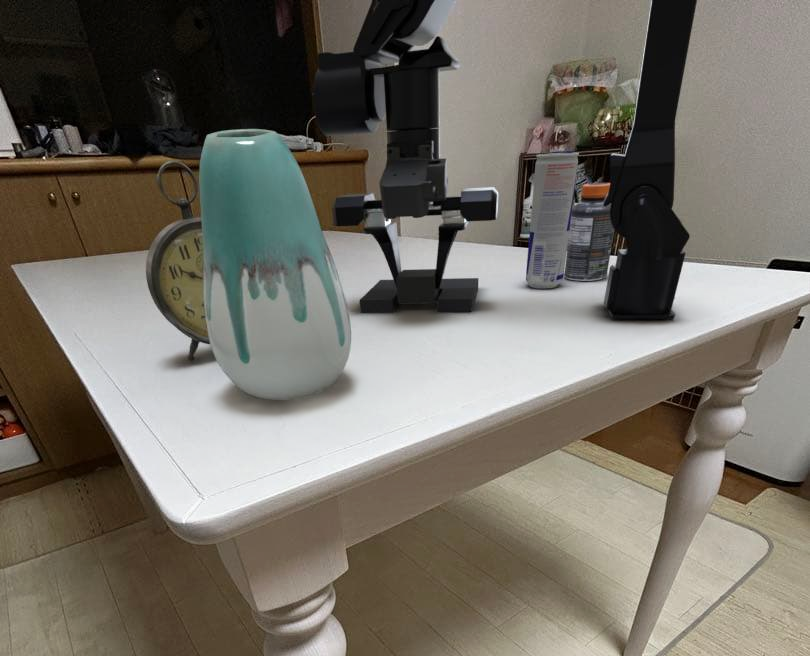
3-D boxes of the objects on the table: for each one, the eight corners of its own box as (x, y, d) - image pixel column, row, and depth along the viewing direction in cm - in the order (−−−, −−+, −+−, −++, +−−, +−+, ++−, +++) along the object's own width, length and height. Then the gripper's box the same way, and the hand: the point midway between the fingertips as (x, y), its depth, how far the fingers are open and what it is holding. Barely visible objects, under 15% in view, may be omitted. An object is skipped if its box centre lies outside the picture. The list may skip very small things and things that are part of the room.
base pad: (478, 289, 72) (478, 277, 71) (471, 312, 62) (471, 298, 61) (381, 291, 74) (380, 279, 73) (360, 312, 65) (359, 299, 64)
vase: (337, 414, 40) (296, 118, 29) (200, 411, 42) (114, 132, 31) (369, 364, 49) (347, 124, 38) (255, 363, 51) (203, 134, 40)
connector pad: (438, 294, 66) (438, 268, 65) (434, 303, 63) (433, 276, 61) (404, 295, 67) (403, 269, 65) (397, 303, 64) (396, 277, 62)
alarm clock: (182, 368, 51) (109, 168, 41) (171, 355, 55) (101, 168, 44) (284, 342, 55) (242, 153, 45) (267, 330, 59) (224, 154, 48)
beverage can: (564, 281, 73) (581, 149, 64) (560, 290, 69) (577, 150, 60) (527, 281, 74) (539, 152, 65) (522, 289, 70) (533, 153, 61)
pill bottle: (601, 272, 77) (617, 180, 70) (610, 281, 72) (627, 183, 65) (560, 273, 77) (572, 182, 70) (566, 282, 72) (579, 185, 66)
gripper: (306, 135, 50) (328, 305, 60) (498, 122, 47) (489, 303, 57) (338, 136, 59) (353, 284, 68) (502, 124, 56) (494, 282, 65)
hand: (418, 288), depth 64 cm, fingers closed on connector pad, 4 cm apart
